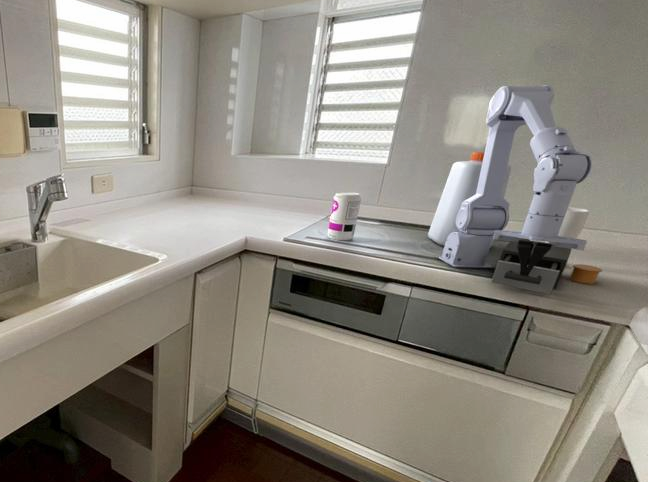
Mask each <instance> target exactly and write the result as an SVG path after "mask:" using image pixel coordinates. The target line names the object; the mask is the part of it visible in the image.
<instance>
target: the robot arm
mask: <svg viewBox="0 0 648 482" xmlns="http://www.w3.org/2000/svg"><path fill="white" fill-rule="evenodd" d="M554 98H555V93H554V90H553V87H552V85H550V84H544V85H519V86H518V85H517V86H515V85H514V86H513V85H512V86H510V85H503V86H501V87H499V89H498V90H497V91H496V92H495V93H494V95H493V96H492V98H491V99H490V101H489V105H488V109H487V115H486V119H485V124H486V125H487V126H488V127H489V130H488V135H487V140H486V144H485V149H484V152H485V154H484V158H483V163H482V168H481V173H480V177H479V182H478V187H477V192H476V195H474V196H472V197H471V198H469V199H467V200H465V201H464V202H462V204H461V207H460V210H459V212H458V214H457V217H456V226H457V228H458V230H460V231H459V232H453V233H450V234H449V236H448V237H447V239H446V243H445V246H443V250H442V254H441V256H439V260H441V261H443V262H444V263H446V264H448V265H450V266H451V267H454V268H469V269H470V268H471V269H472V268H473V269H493V266H492V265H490V264H488V263H486V261H487V258H488V256H489V252H490V249H491V247H492V246H491V243H492V240H493V239H494V241H495V240H497V241H499V240H500V241H507V242H510V241H515V242H518V245H517V249H518V252H519V257H520V275H525V276H529V273H530V272H531V270H532V268H533V267H534V266H535V265H536V263H537V262H538V261H539V260H540V259H541V258H542V257H543V256H544V255H545V254H546V253H547V252H548V251H549V250H550V249H551V247H552V246H555V247H563V248H571V250H576V251H585V248H586V245H587V243H588V240H587V239H581V238H579V239H578V238H577V239H574V238H567V237H560V236H558V234H559V231H560V228H561V225H562V223H563V220H564V217H565V215H566V212H567V209H568V207H570V203H571V200H572V198H573V195H574V192H575V190H576V186H577V185H578V184H580V183H582V182H583V181H585V180H586V178H587V177H588V176H589V175H590V172H591V170H592V167H593V165H592V163H593V162H592V158H591V156H590V155H589V154H587V153H582V152H581V151H577V150H576V148H575V146H574V144H573V142H572V139H571V138H570V136H569V134H568V131H567V129H566V128H564V127H561V126H557V125H556V122H555V118H554V116H553V112H552V108H551V105H552V103H553V101H554ZM525 125H527V127H528V128H529V130H530V131H531V133H532V135H533V137H532V138H531V139H530V141H529V146H530V148H531V151H532V153H533V156H534V158H535V160H536V163H537V166H536V167H535V168H534V170H533V179H534V183H533V186H532V189H533V190H532V191H533V192H534V193H533V197H532V199H531V202H530V206H529V209H528V211H527V215H526V218H525V221H524V224H523V227H522V230H521V231H513V230H504V229H505V228H506V227H507V226H508V224H509V222H510V202H509V201H507V199H506V198H505V197H504V198H503V197H502V196H501V192H502V187H503V183H504V178H505V174H506V169H507V165H509V160H510V155H511V151H512V147H513V143H514V142H513V141H514V138H515V133H516V131H517V130H518V129H519V128H520V127H522V126H525ZM476 206H492V207H493V208H477V207H476ZM544 241H545V242H549V243H545V242H544ZM534 244H536V245H535V247H534ZM490 246H491V247H490ZM533 247H534V250H533V253H532V256H531V259H530V262H529V264H528V261H529V258H530V255H531V252H532V249H533ZM527 265H528V267H527Z"/></svg>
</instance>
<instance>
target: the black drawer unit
mask: <svg viewBox="0 0 648 482" xmlns="http://www.w3.org/2000/svg"><path fill="white" fill-rule="evenodd" d="M517 245H518V242H515V241H508V243H507V245H506V246H505V247H504V248H503V249H502V250H501V254H500V257H499V259H498V261H499V260H501V261H504V260H505V258H506V257H507V256H508V255H509V254H511V255H517V256H519V252H518V249H517ZM535 245H536V244H534V247H535ZM534 247H533V249H532V252H531V255H530V258H531V256H532V253H533V250H534ZM571 253H572V249H570V248H563V247H555V246H552V247H551V249H550V250H549V251H548V252H547V253H546V254H545V255H544V256H543V257H542V258H541V259H542V260H548V261H554V262H559V263H558V265H557V268H556V270H559V271H560V272H559V274H558V277H557V279H556V282H555V284H554V286H553V289H554V290H556V289H557V287H558V285H559V282H560V280H561V277H562V275H563V273H564V270H565V268H566V266H567V264H568V261H569V258H570V255H571ZM553 289H552V290H553Z"/></svg>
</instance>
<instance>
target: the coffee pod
mask: <svg viewBox="0 0 648 482" xmlns="http://www.w3.org/2000/svg"><path fill="white" fill-rule="evenodd" d="M572 267H573V270H572V272H571V273H570V276H569V279H570V280H571V281H573V282H577V283H582V284H589V285H590V284H593V285H594V284H595V283H596V281H597V279H598V277H599V275H600V273H602V272H603V269H602V268H600V267H597V266H594V265H588V264H579V263H578V264H577V263H575V264H573V265H572Z"/></svg>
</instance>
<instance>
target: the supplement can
mask: <svg viewBox="0 0 648 482" xmlns="http://www.w3.org/2000/svg"><path fill="white" fill-rule="evenodd" d="M361 201H362V198H361V194H360V193H358V192H353V191H352V192H351V191H337V192H336V193H335V195H334V196H333V199H332V204H331V211H330V216H329V222H328V229H327V236H328V238H329V239H332V240H334V241H336V240H337V241H351V240H352V239H353V238H354V237H355V236H354V235H355V231H356V226H357V222H358V217H359V211H360V206H361Z"/></svg>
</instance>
